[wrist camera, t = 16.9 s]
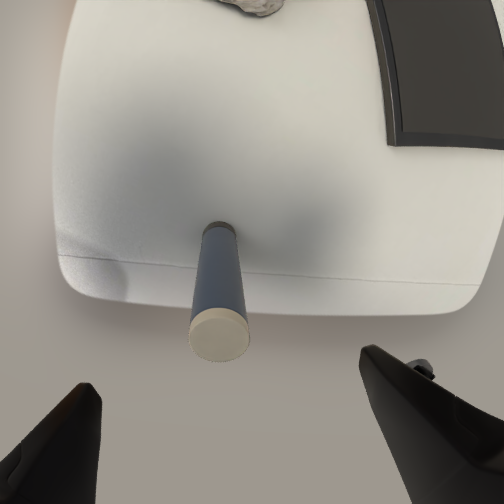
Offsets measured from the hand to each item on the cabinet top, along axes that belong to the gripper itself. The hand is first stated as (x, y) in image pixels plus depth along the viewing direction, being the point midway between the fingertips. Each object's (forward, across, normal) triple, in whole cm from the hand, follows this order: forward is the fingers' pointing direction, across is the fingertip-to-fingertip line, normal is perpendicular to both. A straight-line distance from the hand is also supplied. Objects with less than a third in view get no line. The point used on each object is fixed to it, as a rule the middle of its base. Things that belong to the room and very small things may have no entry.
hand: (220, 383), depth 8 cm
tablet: (+12, -20, -21) cm, 31 cm away
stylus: (+12, 0, 0) cm, 12 cm away
